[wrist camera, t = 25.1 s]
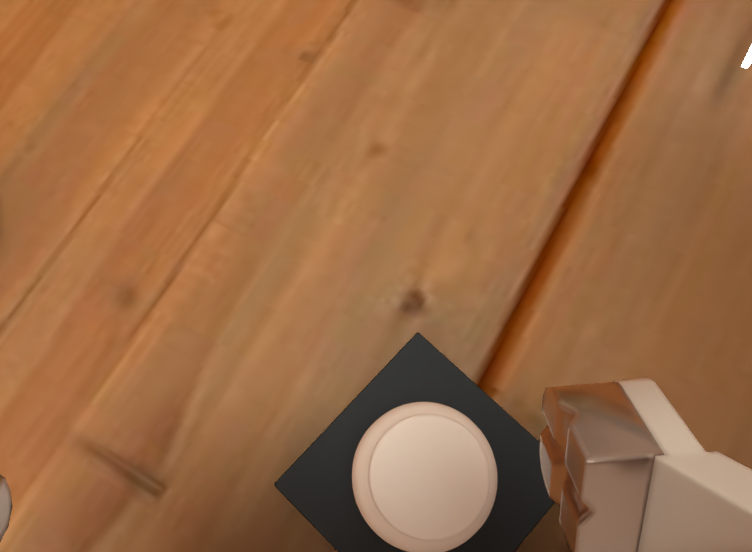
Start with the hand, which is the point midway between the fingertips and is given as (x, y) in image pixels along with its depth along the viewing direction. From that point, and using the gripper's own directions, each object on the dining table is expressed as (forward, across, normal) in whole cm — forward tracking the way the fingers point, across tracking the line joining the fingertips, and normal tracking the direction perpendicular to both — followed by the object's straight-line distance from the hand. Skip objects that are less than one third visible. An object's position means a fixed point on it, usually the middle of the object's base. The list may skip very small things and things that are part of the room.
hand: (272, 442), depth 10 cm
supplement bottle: (+15, -3, +16) cm, 22 cm away
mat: (+16, -4, +16) cm, 23 cm away
